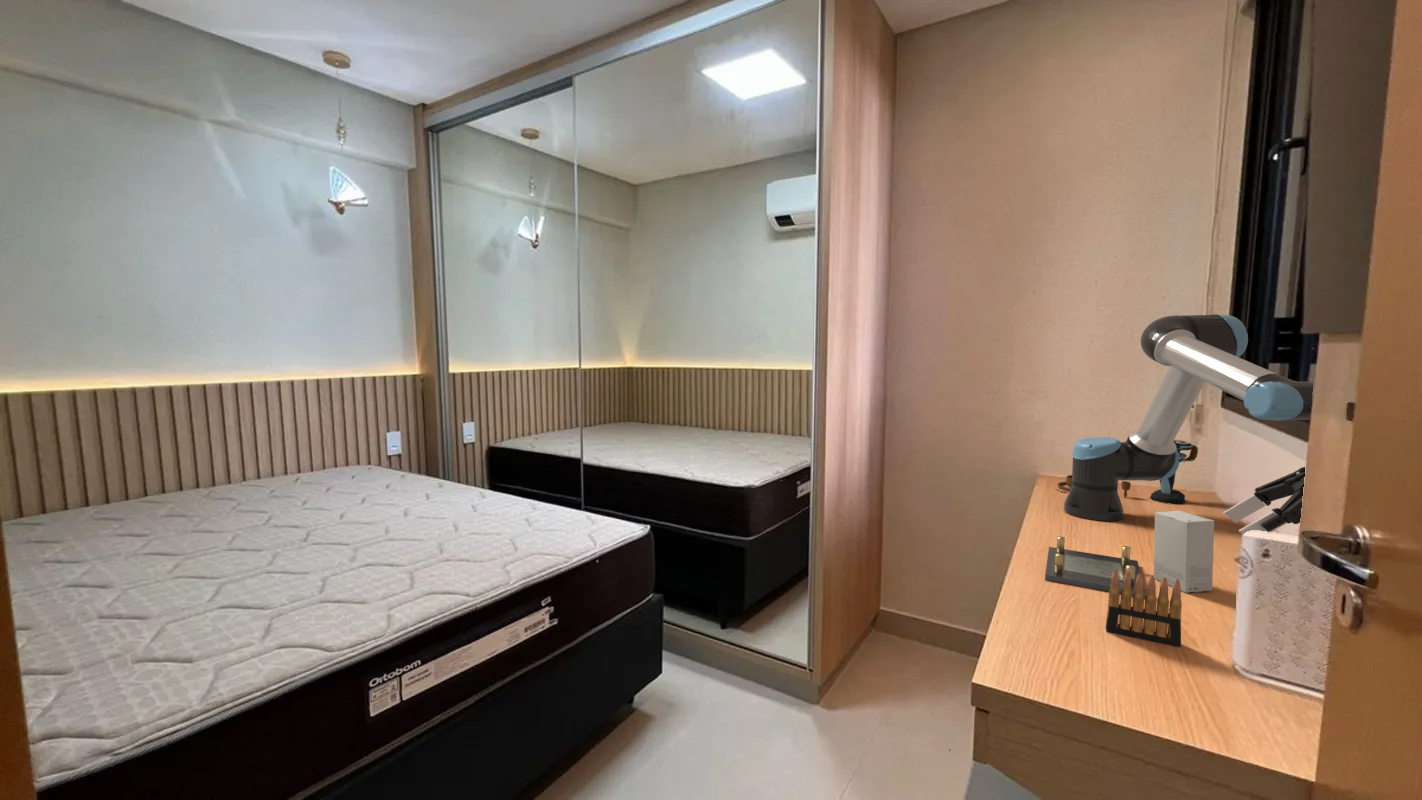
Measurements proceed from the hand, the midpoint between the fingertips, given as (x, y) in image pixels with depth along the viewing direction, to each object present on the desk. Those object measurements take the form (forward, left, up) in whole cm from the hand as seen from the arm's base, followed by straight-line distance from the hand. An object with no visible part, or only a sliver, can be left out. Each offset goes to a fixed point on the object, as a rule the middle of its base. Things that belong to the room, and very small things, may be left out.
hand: (1236, 526), depth 115 cm
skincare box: (-1, -8, -15) cm, 17 cm away
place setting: (-79, -24, -15) cm, 84 cm away
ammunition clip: (+30, -17, -15) cm, 38 cm away
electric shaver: (-80, -1, -15) cm, 81 cm away
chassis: (+1, -24, -15) cm, 28 cm away
